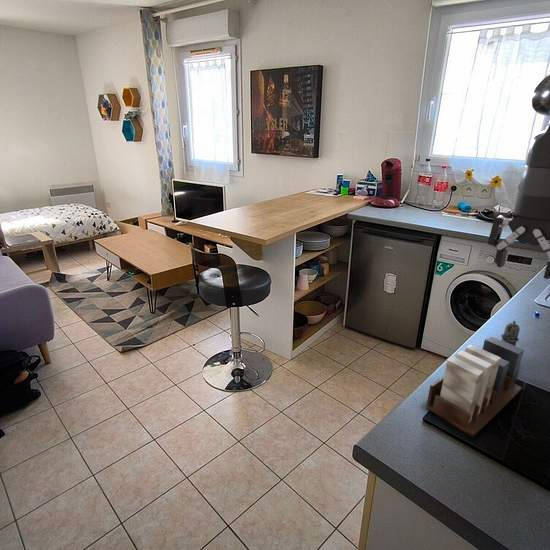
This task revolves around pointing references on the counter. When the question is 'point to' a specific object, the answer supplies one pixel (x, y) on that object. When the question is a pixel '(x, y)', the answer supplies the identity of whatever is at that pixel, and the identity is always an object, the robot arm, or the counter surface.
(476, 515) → the counter surface
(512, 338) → the stone chess piece
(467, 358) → the white book
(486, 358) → the book rack
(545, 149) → the robot arm
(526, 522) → the counter surface
